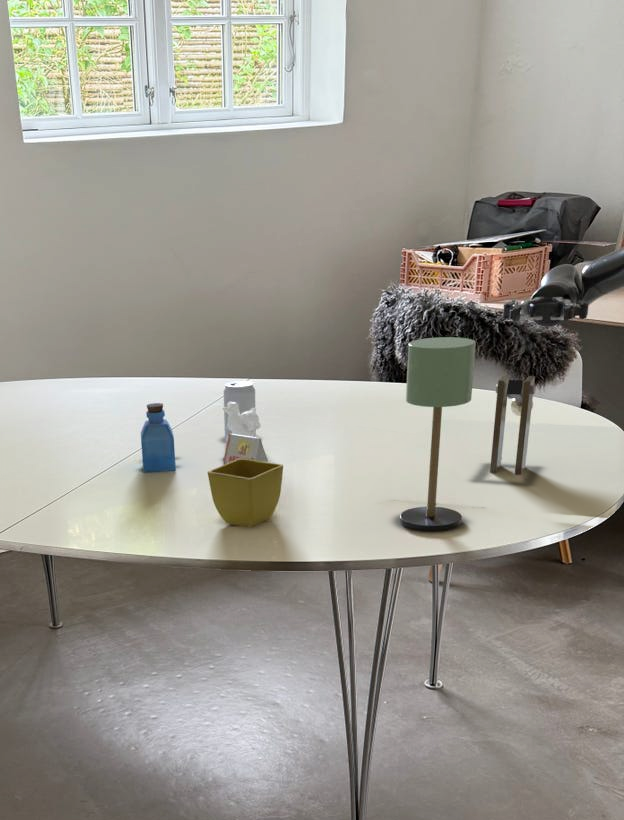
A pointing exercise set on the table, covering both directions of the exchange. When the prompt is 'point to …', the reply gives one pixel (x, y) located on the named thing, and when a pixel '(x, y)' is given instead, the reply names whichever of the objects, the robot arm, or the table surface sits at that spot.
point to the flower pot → (246, 491)
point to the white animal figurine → (241, 420)
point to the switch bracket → (500, 423)
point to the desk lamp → (437, 412)
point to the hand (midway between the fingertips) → (540, 315)
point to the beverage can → (239, 399)
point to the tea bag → (244, 449)
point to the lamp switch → (516, 395)
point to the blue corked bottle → (157, 441)
